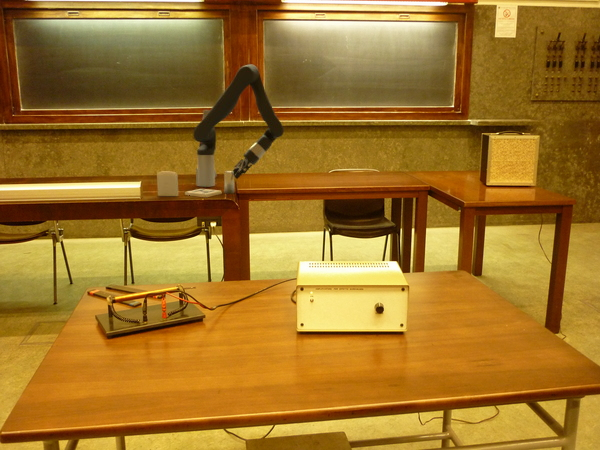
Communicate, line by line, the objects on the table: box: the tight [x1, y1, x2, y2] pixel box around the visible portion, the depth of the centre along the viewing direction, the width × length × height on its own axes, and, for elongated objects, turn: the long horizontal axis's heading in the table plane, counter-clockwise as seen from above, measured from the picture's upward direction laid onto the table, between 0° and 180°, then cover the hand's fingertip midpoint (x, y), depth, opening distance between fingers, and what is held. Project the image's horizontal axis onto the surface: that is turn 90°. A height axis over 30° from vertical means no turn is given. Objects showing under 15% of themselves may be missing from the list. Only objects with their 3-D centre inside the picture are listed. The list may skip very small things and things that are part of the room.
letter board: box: [184, 188, 223, 198], centre depth 294 cm, size 13×13×2 cm
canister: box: [223, 170, 235, 195], centre depth 299 cm, size 5×5×11 cm
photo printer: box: [156, 170, 179, 197], centre depth 287 cm, size 10×4×12 cm, turn 86°
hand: (233, 176), depth 299 cm, fingers open, 8 cm apart
